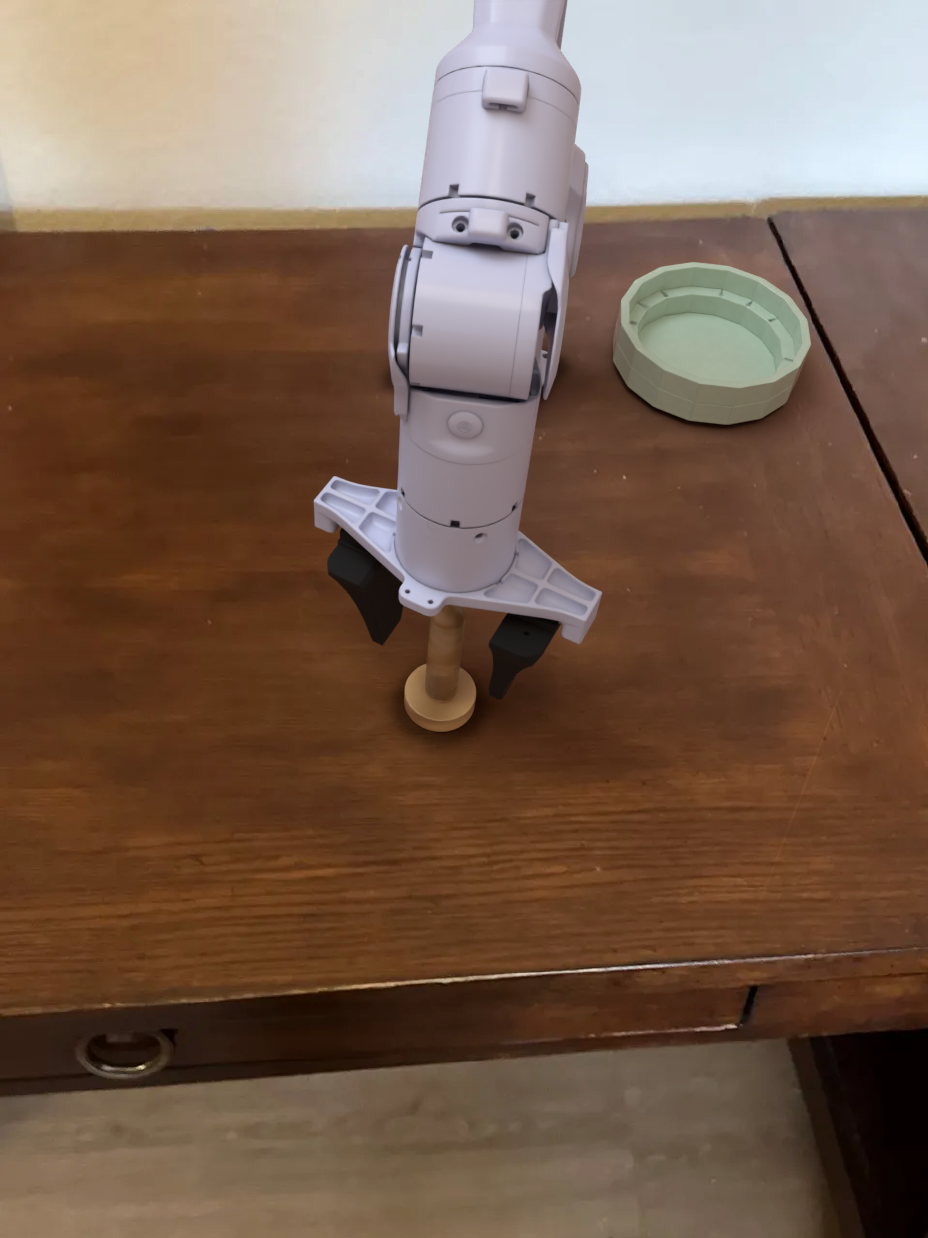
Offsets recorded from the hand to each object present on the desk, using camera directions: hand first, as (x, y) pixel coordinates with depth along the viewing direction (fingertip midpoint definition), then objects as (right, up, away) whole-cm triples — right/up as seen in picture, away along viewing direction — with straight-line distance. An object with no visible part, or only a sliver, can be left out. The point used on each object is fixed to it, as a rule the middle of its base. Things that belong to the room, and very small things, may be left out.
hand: (443, 657), depth 65 cm
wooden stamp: (0, -3, +4) cm, 4 cm away
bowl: (+18, +20, +23) cm, 35 cm away
